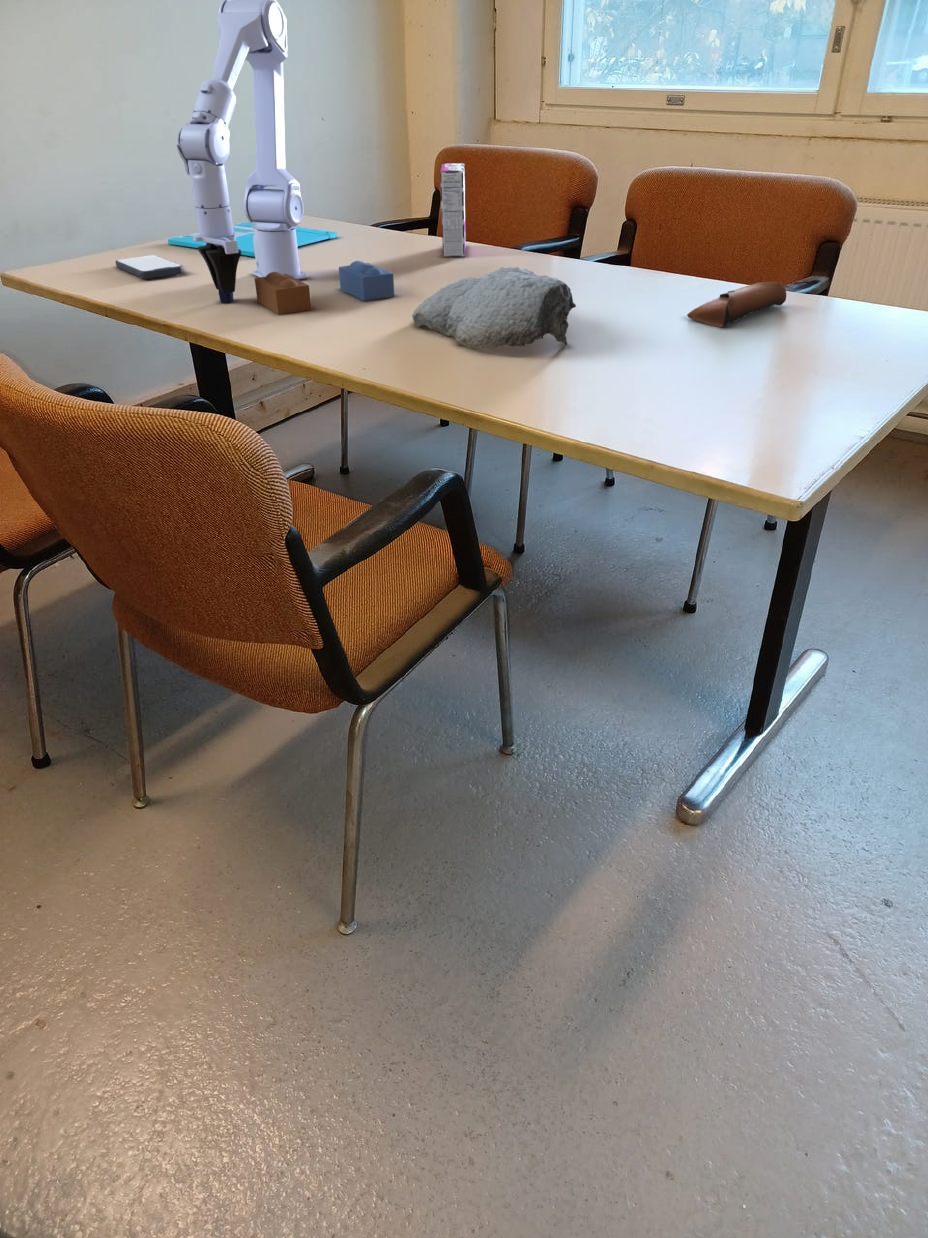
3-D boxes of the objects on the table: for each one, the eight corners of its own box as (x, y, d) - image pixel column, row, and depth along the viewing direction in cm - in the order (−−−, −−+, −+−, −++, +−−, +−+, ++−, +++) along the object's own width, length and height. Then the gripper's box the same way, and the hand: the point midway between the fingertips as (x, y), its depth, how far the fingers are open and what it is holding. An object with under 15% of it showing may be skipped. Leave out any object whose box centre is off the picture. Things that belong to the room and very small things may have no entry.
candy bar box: (443, 246, 194) (441, 162, 185) (465, 246, 194) (465, 162, 185) (441, 257, 184) (439, 170, 175) (465, 257, 184) (464, 169, 175)
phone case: (114, 268, 179) (143, 280, 169) (112, 259, 178) (141, 271, 168) (156, 262, 184) (187, 274, 173) (155, 254, 183) (185, 265, 172)
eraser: (223, 299, 157) (216, 259, 153) (235, 300, 156) (229, 259, 152) (219, 303, 155) (212, 262, 151) (231, 303, 155) (225, 262, 151)
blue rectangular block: (340, 289, 162) (338, 260, 159) (369, 285, 165) (367, 256, 162) (364, 301, 155) (362, 271, 152) (394, 296, 158) (393, 267, 155)
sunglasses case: (740, 295, 154) (764, 263, 149) (768, 322, 153) (793, 292, 147) (683, 315, 144) (706, 282, 139) (712, 345, 142) (736, 313, 137)
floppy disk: (258, 257, 185) (257, 252, 184) (167, 243, 197) (166, 239, 197) (338, 236, 203) (338, 232, 202) (250, 225, 216) (249, 221, 215)
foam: (398, 322, 144) (394, 263, 139) (501, 300, 154) (501, 244, 149) (504, 365, 125) (505, 298, 119) (614, 337, 135) (619, 274, 130)
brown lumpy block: (257, 301, 155) (253, 271, 153) (289, 297, 158) (286, 267, 155) (278, 314, 148) (274, 283, 145) (311, 309, 151) (308, 278, 148)
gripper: (176, 201, 150) (190, 284, 158) (202, 214, 140) (216, 302, 148) (216, 198, 153) (228, 279, 161) (245, 210, 143) (256, 296, 151)
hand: (225, 290), depth 154 cm, fingers closed on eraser, 3 cm apart
